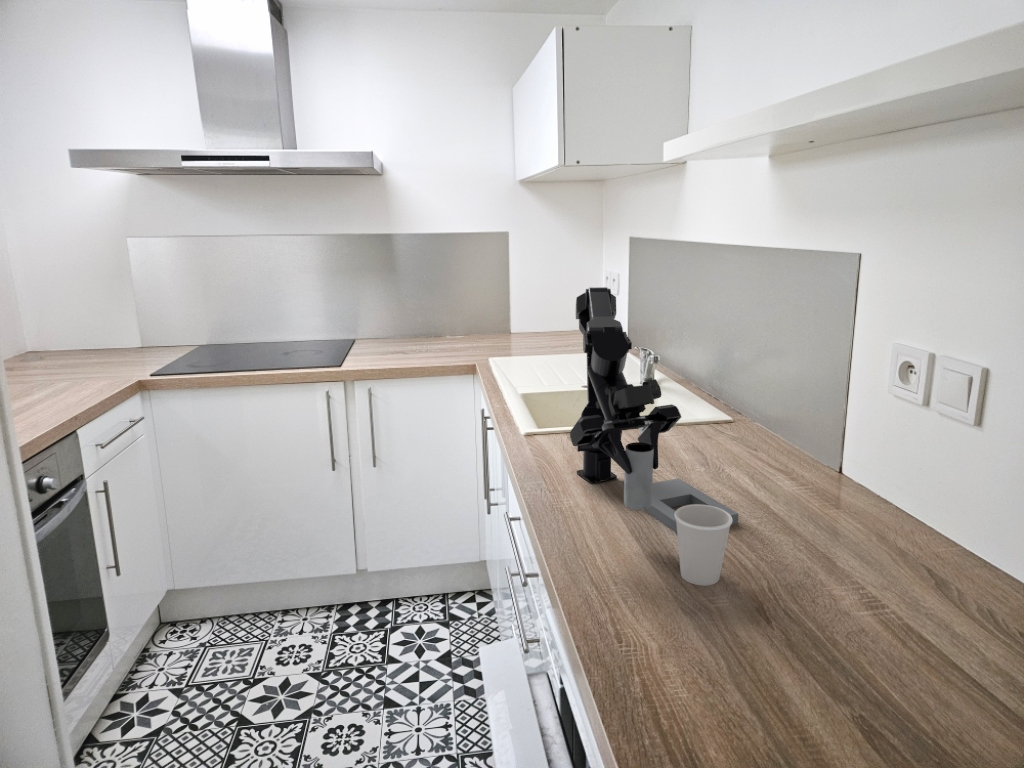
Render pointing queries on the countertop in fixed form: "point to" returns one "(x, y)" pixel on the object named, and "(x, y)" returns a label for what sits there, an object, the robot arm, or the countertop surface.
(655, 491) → the socket board
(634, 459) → the gray tube
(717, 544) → the dixie cup
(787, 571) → the countertop surface
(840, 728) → the countertop surface
